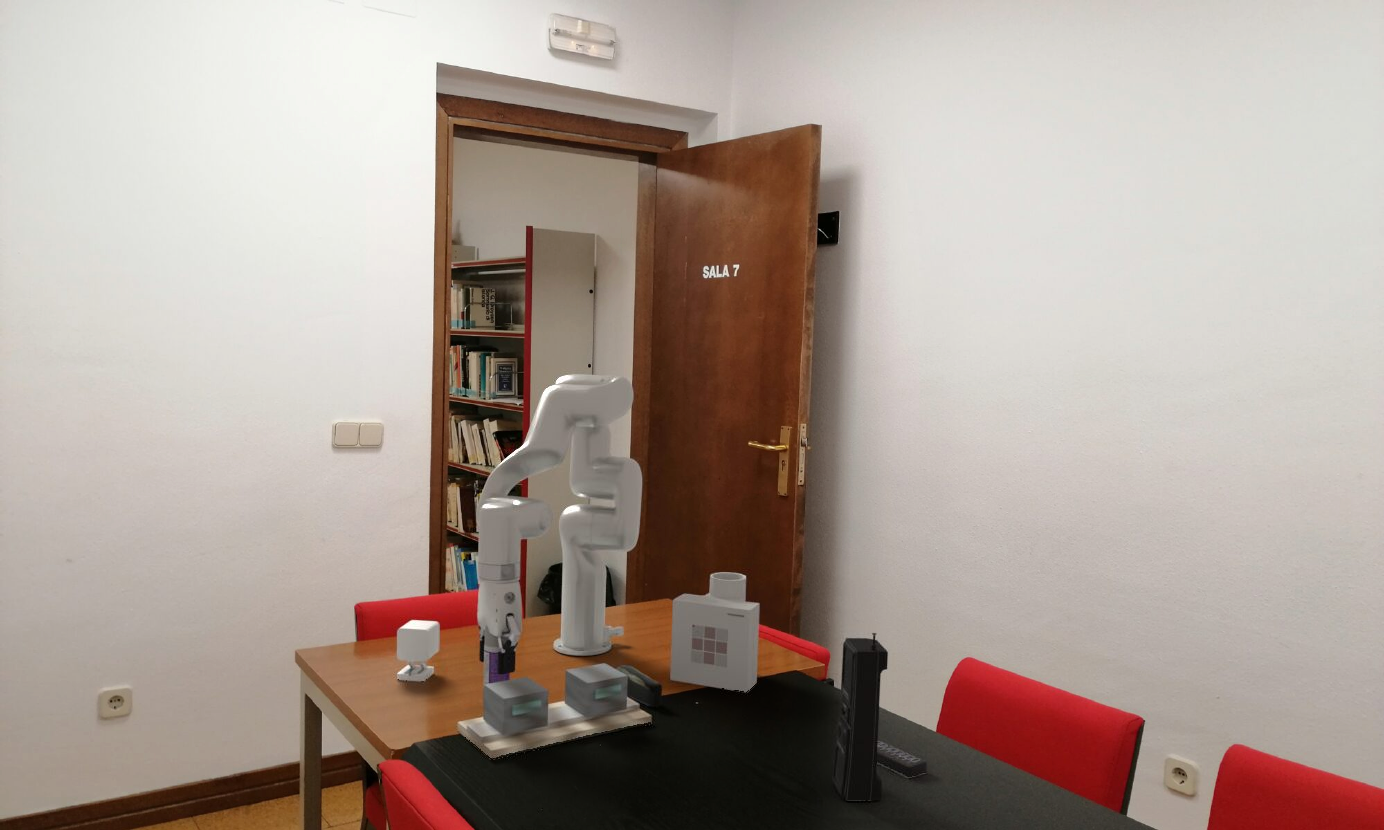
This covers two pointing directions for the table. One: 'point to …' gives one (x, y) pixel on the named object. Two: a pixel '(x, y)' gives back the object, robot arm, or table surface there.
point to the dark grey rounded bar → (642, 687)
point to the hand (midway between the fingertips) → (496, 665)
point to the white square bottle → (716, 636)
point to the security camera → (417, 648)
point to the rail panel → (552, 711)
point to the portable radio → (859, 720)
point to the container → (492, 659)
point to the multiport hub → (900, 760)
